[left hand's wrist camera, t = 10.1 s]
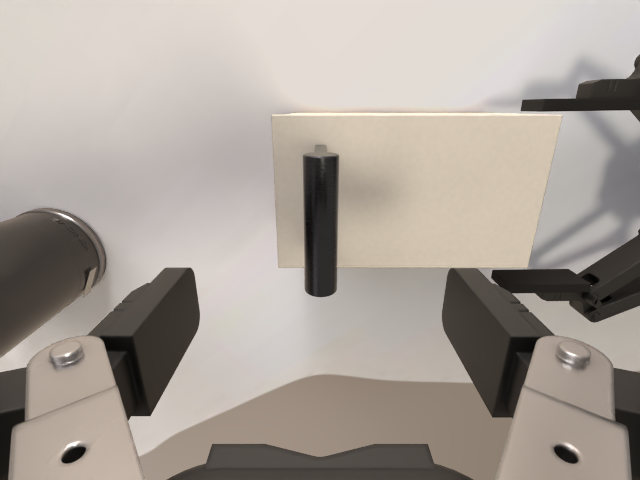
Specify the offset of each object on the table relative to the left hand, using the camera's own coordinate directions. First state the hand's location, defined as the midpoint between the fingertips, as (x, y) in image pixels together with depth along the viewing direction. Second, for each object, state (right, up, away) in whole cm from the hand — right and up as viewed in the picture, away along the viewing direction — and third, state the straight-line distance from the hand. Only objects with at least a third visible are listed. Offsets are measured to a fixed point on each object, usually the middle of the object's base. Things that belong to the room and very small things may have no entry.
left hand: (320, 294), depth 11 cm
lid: (+6, +5, +13) cm, 15 cm away
